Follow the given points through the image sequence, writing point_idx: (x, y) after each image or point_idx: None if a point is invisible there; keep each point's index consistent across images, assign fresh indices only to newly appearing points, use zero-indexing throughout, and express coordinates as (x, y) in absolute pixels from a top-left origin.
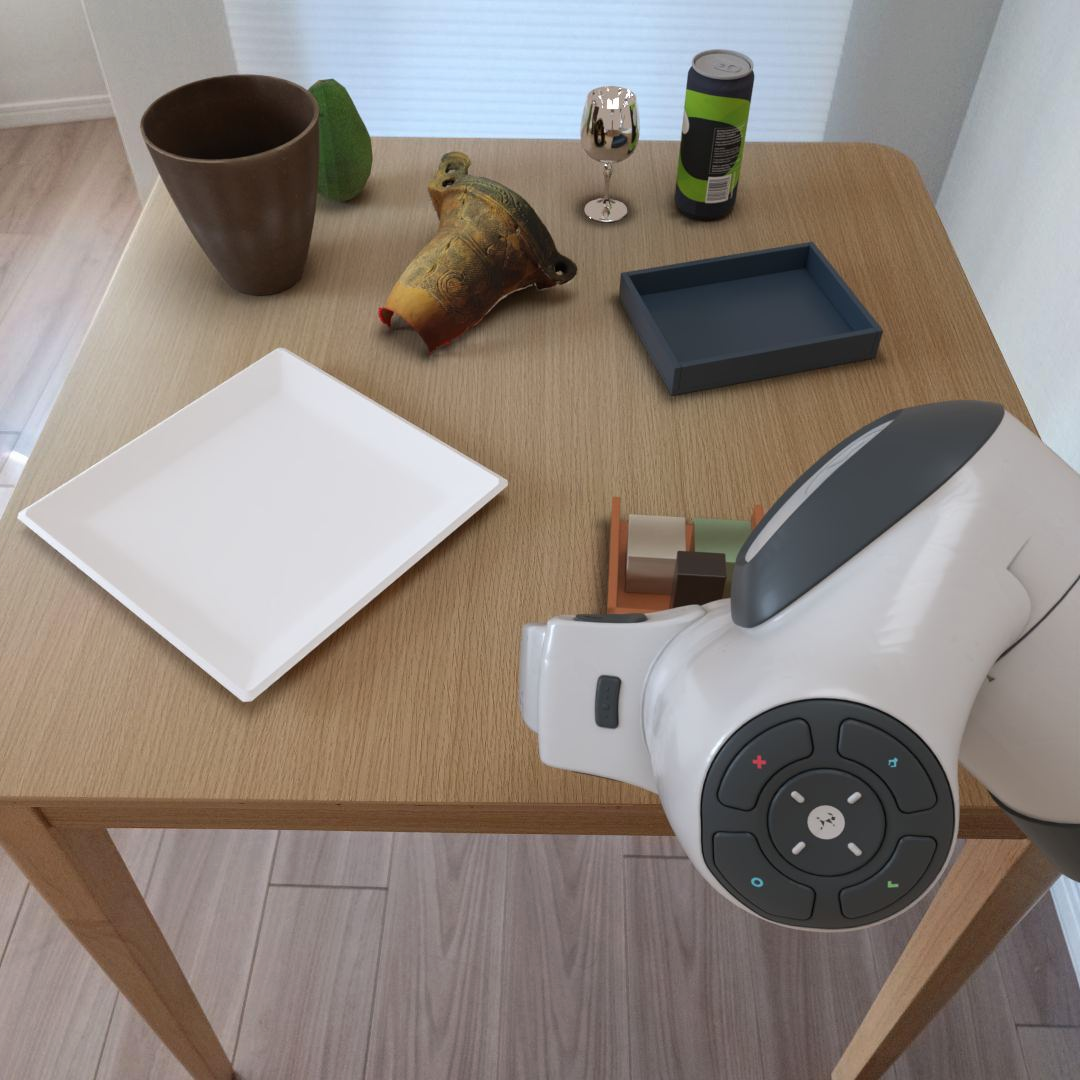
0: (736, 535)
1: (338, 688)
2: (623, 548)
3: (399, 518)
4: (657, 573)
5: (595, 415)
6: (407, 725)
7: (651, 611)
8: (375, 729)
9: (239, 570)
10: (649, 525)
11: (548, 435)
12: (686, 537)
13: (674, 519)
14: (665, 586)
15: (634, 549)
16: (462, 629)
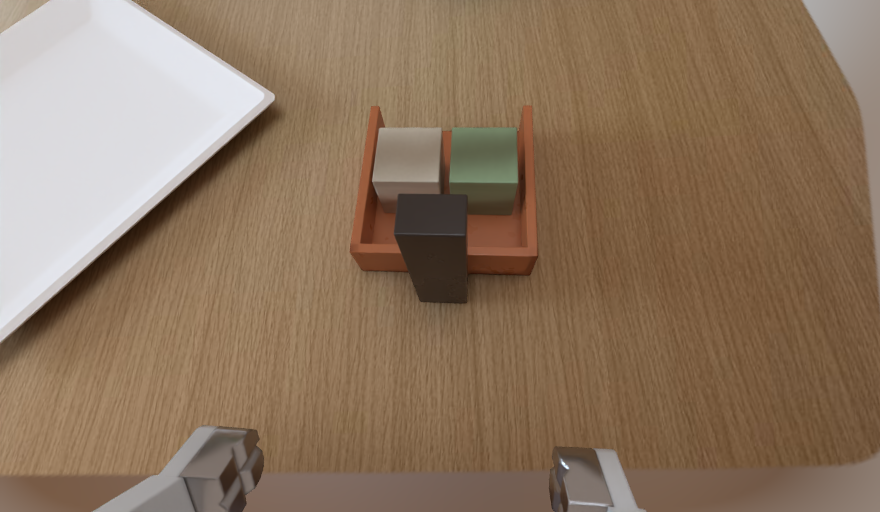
0: (499, 147)
1: (85, 338)
2: None
3: (172, 142)
4: None
5: (377, 21)
6: (145, 382)
7: (398, 247)
8: (112, 389)
9: (10, 208)
10: (400, 140)
11: (331, 45)
12: None
13: (429, 131)
14: None
15: (379, 172)
16: (219, 262)
